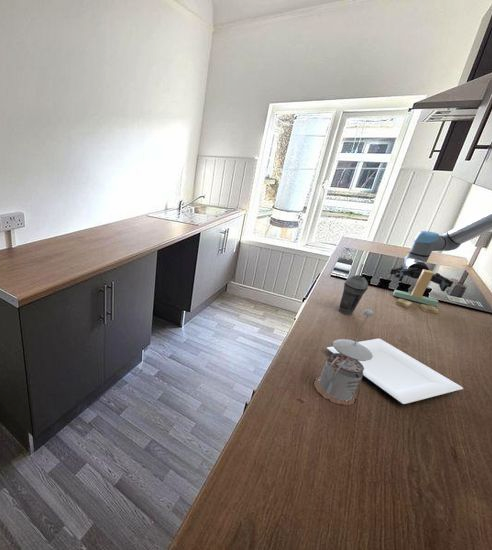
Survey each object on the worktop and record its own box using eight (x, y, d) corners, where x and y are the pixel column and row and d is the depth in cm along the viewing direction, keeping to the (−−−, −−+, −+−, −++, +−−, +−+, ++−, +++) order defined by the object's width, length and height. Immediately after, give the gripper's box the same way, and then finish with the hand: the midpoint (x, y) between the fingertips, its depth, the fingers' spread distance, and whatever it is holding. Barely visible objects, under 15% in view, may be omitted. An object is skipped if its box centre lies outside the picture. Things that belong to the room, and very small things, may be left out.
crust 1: (410, 305, 124) (412, 302, 123) (407, 308, 122) (408, 304, 121) (398, 301, 127) (400, 298, 126) (395, 303, 125) (396, 300, 124)
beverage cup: (337, 314, 115) (356, 267, 106) (332, 305, 121) (349, 260, 113) (359, 318, 113) (380, 270, 104) (352, 309, 119) (371, 263, 111)
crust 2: (431, 309, 121) (433, 305, 121) (436, 313, 118) (438, 310, 117) (419, 306, 123) (421, 303, 122) (424, 311, 119) (426, 308, 119)
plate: (400, 409, 73) (404, 403, 73) (324, 352, 93) (326, 347, 92) (460, 393, 79) (464, 387, 78) (377, 342, 99) (379, 337, 98)
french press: (364, 396, 77) (405, 315, 66) (340, 414, 71) (380, 328, 61) (325, 372, 85) (356, 296, 74) (301, 387, 79) (331, 306, 69)
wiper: (434, 304, 125) (451, 274, 119) (436, 307, 123) (452, 277, 117) (392, 294, 133) (406, 265, 127) (392, 296, 130) (406, 267, 125)
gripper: (449, 283, 134) (459, 300, 119) (380, 268, 148) (381, 282, 132) (457, 268, 131) (469, 284, 116) (386, 254, 145) (388, 267, 129)
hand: (422, 283), depth 124 cm, fingers open, 13 cm apart
